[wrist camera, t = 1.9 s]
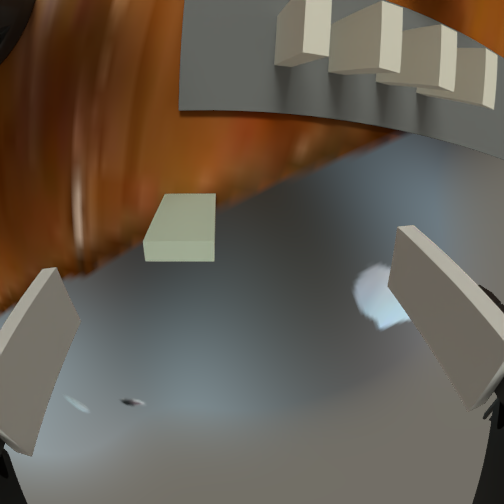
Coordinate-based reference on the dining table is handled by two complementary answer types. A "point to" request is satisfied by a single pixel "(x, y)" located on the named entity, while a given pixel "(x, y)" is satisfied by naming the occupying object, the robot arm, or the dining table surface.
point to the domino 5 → (471, 79)
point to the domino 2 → (303, 32)
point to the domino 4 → (426, 59)
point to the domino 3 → (367, 41)
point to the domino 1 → (182, 229)
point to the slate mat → (317, 77)
